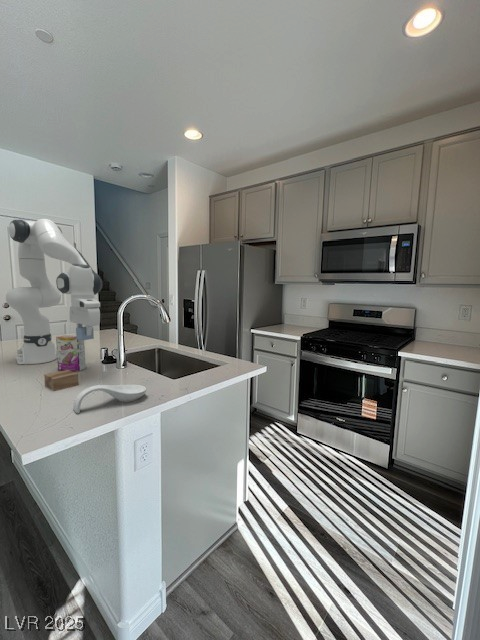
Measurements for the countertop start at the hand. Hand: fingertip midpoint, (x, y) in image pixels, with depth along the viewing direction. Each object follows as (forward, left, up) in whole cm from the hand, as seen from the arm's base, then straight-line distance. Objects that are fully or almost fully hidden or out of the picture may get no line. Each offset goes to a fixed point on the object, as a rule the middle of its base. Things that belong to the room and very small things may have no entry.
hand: (84, 334), depth 127 cm
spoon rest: (+35, -7, -20) cm, 41 cm away
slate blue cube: (0, 0, -2) cm, 2 cm away
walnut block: (+2, -11, -20) cm, 23 cm away
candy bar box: (-18, +1, -20) cm, 26 cm away
